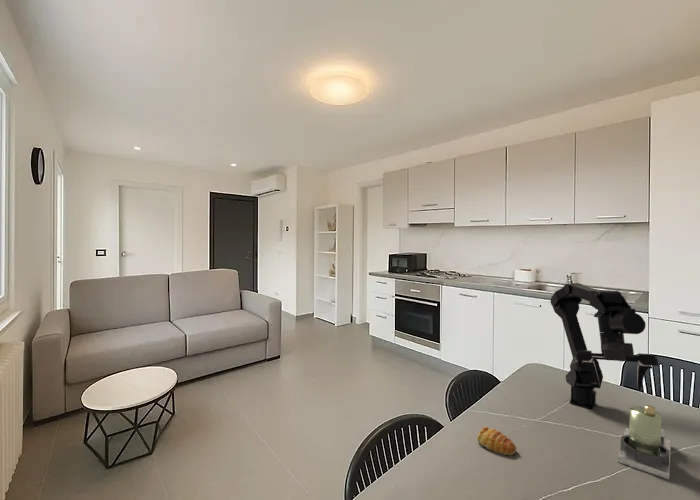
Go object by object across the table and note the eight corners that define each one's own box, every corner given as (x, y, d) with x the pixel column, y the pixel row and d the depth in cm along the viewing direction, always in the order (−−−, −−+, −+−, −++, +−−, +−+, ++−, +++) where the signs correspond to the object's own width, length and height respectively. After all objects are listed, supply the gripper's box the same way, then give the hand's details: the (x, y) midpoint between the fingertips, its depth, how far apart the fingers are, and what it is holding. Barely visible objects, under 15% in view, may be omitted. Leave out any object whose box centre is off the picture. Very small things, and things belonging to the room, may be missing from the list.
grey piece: (617, 462, 86) (618, 444, 86) (625, 433, 99) (626, 417, 99) (669, 480, 80) (669, 460, 80) (670, 446, 93) (670, 429, 93)
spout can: (623, 446, 90) (624, 397, 89) (649, 448, 89) (650, 399, 89) (638, 461, 84) (640, 409, 84) (666, 463, 83) (668, 410, 83)
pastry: (520, 450, 91) (520, 436, 91) (509, 461, 87) (509, 446, 87) (486, 435, 98) (486, 422, 98) (474, 444, 94) (474, 430, 94)
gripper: (572, 332, 102) (578, 388, 98) (655, 334, 91) (665, 398, 88) (574, 331, 110) (580, 383, 107) (651, 334, 100) (660, 391, 96)
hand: (618, 388), depth 99 cm, fingers open, 9 cm apart
